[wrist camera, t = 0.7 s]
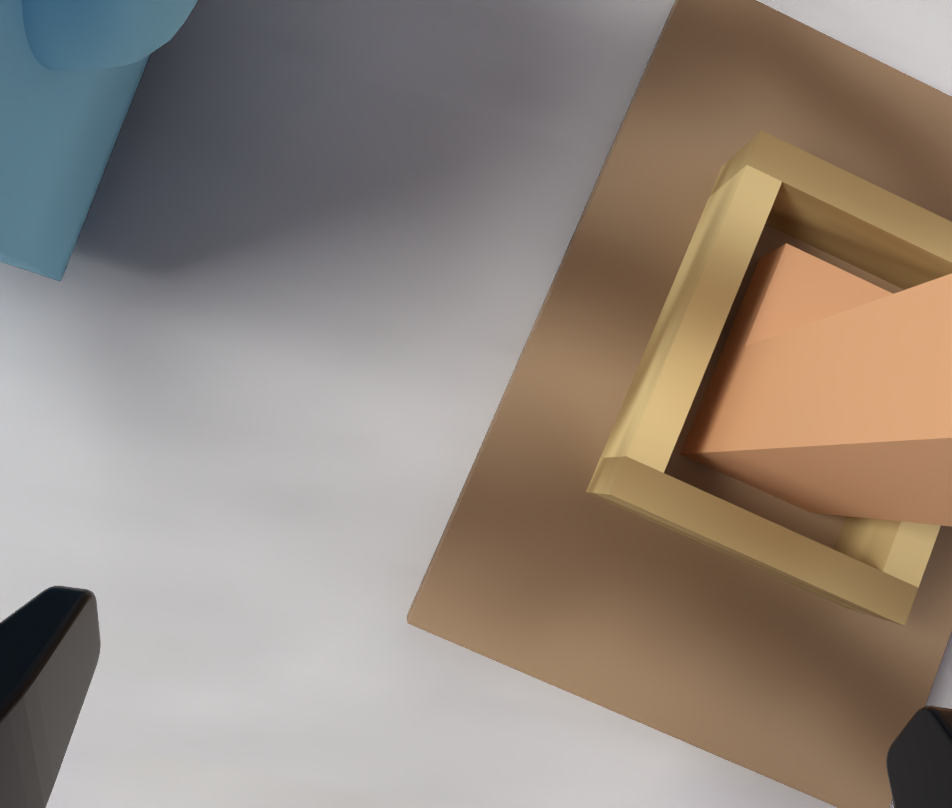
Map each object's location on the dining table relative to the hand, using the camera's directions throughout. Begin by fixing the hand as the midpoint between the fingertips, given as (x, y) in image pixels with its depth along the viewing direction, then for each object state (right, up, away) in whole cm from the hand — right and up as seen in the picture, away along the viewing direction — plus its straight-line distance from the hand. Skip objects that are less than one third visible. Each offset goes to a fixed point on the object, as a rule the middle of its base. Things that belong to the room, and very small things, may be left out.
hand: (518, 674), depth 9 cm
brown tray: (+8, +3, +15) cm, 18 cm away
